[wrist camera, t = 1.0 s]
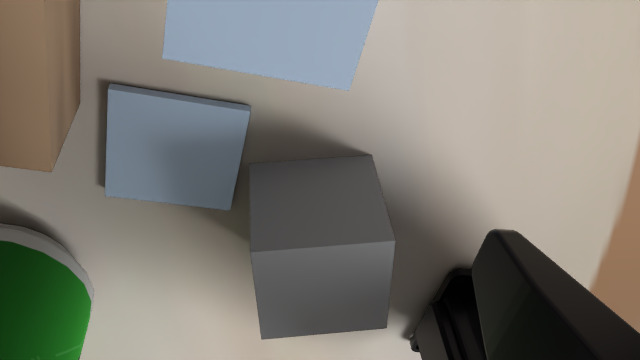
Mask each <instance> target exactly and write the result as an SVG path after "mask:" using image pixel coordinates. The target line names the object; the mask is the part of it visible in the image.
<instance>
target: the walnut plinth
mask: <svg viewBox="0 0 640 360" xmlns="http://www.w3.org/2000/svg"><path fill="white" fill-rule="evenodd" d="M79 104H80V0H0V166H5V167H13V168H21V169H29V170H38V171H46V172H52V170H53V167H54V165H55V163H56V160H57V158H58V155H59V153H60V150H61V148H62V146H63V143H64V141H65V138H66V136H67V134H68V131H69V129H70V126H71V124H72V121H73V119H74V117H75V114H76V112H77V109H78V107H79Z"/></svg>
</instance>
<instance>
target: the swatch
mask: <svg viewBox="0 0 640 360" xmlns="http://www.w3.org/2000/svg"><path fill="white" fill-rule="evenodd" d="M250 112H251V106H249V105H242V104H236V103H230V102H224V101H217V100H211V99H205V98H199V97H192V96H186V95H180V94H174V93H167V92H161V91H155V90H149V89H142V88H136V87H130V86H124V85H117V84H111V83H110V85H109V88H108V109H107V144H106V178H105V196H109V197H118V198H126V199H135V200H144V201H152V202H161V203H169V204H178V205H186V206H195V207H204V208H212V209H221V210H229V211H230V208H231V203H232V198H233V194H234V189H235V184H236V179H237V174H238V170H239V165H240V160H241V155H242V150H243V146H244V141H245V136H246V131H247V126H248V122H249V117H250Z"/></svg>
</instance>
